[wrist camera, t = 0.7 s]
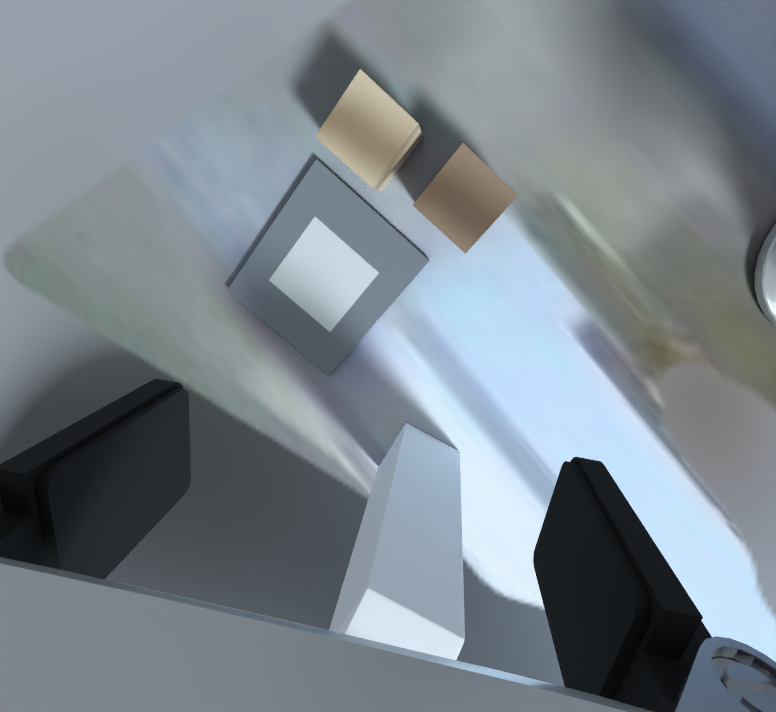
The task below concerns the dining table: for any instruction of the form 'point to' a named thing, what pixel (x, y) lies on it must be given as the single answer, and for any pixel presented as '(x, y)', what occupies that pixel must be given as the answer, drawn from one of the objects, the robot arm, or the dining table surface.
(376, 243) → the mat
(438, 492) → the milk
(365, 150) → the oak block
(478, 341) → the dining table surface
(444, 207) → the walnut block
